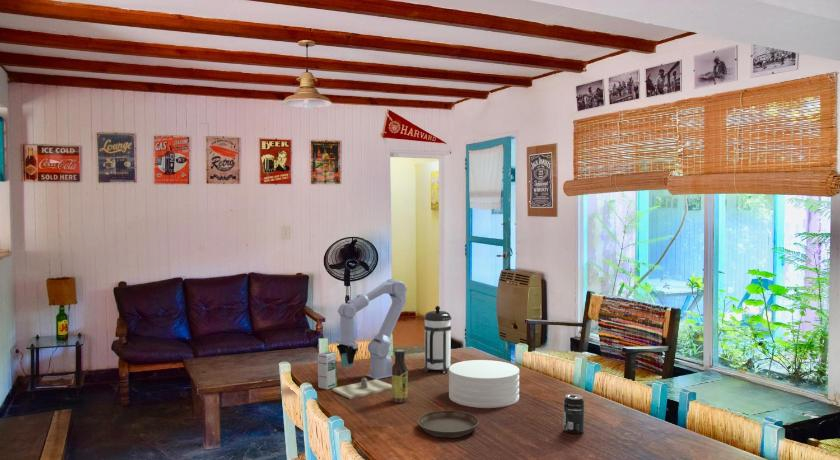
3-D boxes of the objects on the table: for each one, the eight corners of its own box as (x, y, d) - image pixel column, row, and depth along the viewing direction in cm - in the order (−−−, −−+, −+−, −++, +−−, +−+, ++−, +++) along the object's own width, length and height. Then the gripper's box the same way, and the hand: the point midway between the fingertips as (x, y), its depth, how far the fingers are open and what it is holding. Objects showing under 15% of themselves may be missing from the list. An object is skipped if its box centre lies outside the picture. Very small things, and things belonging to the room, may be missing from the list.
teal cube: (349, 363, 274) (349, 352, 274) (354, 365, 270) (354, 354, 270) (339, 365, 271) (339, 353, 271) (345, 367, 267) (345, 356, 267)
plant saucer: (428, 443, 200) (428, 433, 200) (411, 422, 220) (411, 413, 220) (487, 437, 206) (487, 427, 206) (465, 416, 226) (465, 407, 226)
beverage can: (568, 426, 216) (569, 391, 215) (587, 430, 211) (587, 395, 211) (559, 431, 210) (560, 396, 210) (578, 436, 206) (579, 400, 206)
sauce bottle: (405, 403, 240) (405, 352, 239) (389, 402, 241) (389, 352, 241) (409, 398, 246) (409, 349, 246) (394, 397, 248) (393, 348, 247)
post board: (376, 381, 271) (376, 370, 271) (395, 388, 260) (395, 376, 260) (332, 390, 257) (332, 378, 257) (350, 398, 246) (350, 386, 246)
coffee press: (414, 368, 293) (414, 304, 292) (444, 364, 299) (444, 302, 298) (430, 377, 277) (430, 310, 276) (461, 373, 284) (462, 307, 283)
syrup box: (327, 389, 259) (327, 355, 258) (317, 387, 262) (317, 353, 262) (337, 386, 263) (337, 352, 263) (327, 384, 267) (327, 350, 266)
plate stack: (437, 401, 243) (437, 372, 243) (465, 383, 268) (465, 357, 268) (505, 412, 230) (505, 381, 230) (528, 392, 255) (528, 364, 255)
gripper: (330, 329, 273) (330, 360, 274) (347, 335, 262) (348, 367, 263) (344, 327, 278) (344, 357, 278) (362, 333, 266) (362, 364, 267)
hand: (347, 362), depth 271 cm, fingers closed on teal cube, 5 cm apart
